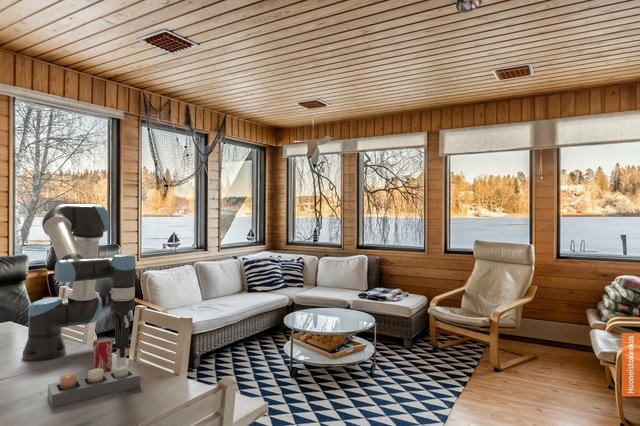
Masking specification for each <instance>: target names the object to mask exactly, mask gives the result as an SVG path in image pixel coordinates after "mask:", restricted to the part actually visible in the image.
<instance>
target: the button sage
mask: <svg viewBox="0 0 640 426" xmlns="http://www.w3.org/2000/svg"><path fill="white" fill-rule="evenodd" d="M128 368H129V367H127V366H120V367H116V368H114V369H113V371H114V379H117V378H121V377H126V376H128Z"/></svg>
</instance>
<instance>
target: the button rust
mask: <svg viewBox="0 0 640 426" xmlns="http://www.w3.org/2000/svg"><path fill="white" fill-rule="evenodd" d="M77 378H78V376H77V374H76V373H67V374H64V375H61V376H60V378H59V382H60V388H62V389H67V388H72V387H74V386H76V384H77Z"/></svg>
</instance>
